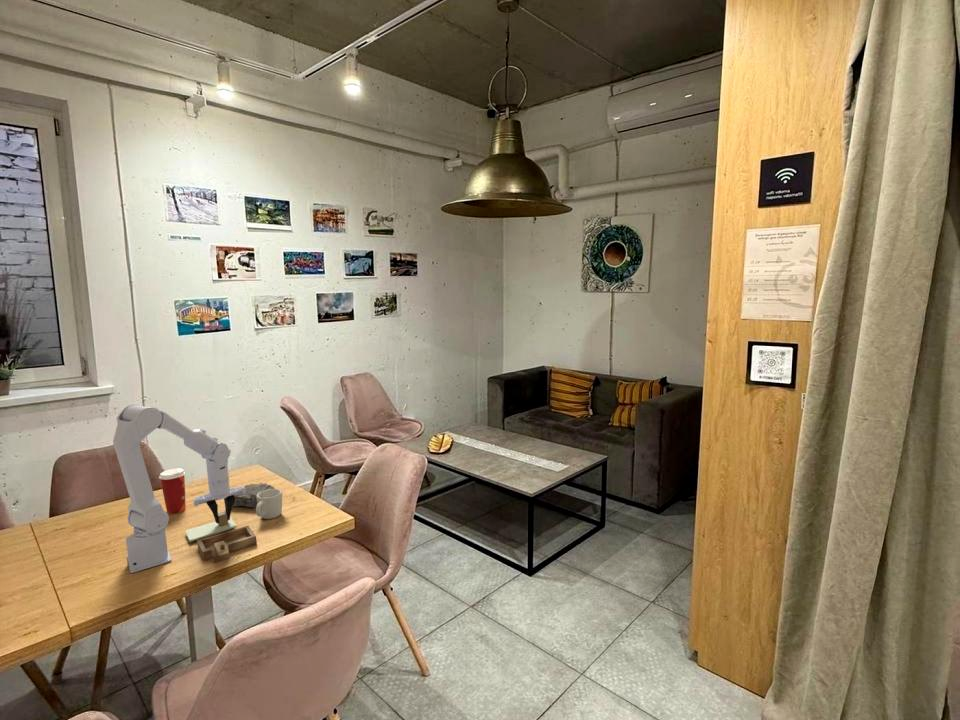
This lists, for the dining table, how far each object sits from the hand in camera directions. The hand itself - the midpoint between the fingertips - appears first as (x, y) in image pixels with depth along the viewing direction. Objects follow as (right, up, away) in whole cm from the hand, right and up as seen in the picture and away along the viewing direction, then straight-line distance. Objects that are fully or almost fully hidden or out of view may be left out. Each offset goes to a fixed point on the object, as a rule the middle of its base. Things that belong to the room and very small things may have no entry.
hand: (222, 520), depth 157 cm
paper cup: (-24, -2, +16) cm, 29 cm away
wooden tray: (+8, -4, -12) cm, 15 cm away
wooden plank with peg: (+10, -2, -20) cm, 22 cm away
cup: (+11, -2, +8) cm, 14 cm away
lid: (-3, -2, -2) cm, 4 cm away
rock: (+1, -1, +21) cm, 21 cm away
